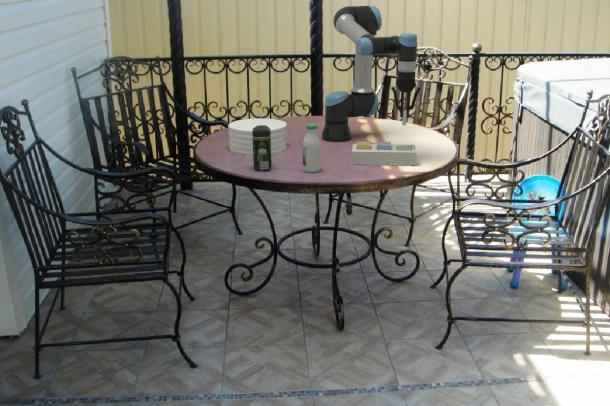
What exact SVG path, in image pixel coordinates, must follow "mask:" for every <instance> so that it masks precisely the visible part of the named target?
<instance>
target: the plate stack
mask: <svg viewBox="0 0 610 406" xmlns="http://www.w3.org/2000/svg"><path fill="white" fill-rule="evenodd" d="M287 124H288V123H287V122H286V121H283V120H280V119H273V118H260V117H259V118H246V119H245V118H243V119H239V120H234V121H232V122H230V123H228V127H227V128H228V141H229V143H228V144H229V146H228V147H229V150H230V151H231V152H233V153H236V154H242V155H248V156H249V155H250V156H251V155H252V156H253V141H252V130H253V128H254V127H256V126H258V125H266V126H267V127H269V128H270V133H271V155H273V154H278V153H281V152H284V151H285V150H286V149H287V148H288V144H287V143H288V129H287V128H288V125H287Z"/></svg>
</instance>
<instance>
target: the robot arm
mask: <svg viewBox="0 0 610 406" xmlns="http://www.w3.org/2000/svg"><path fill="white" fill-rule="evenodd" d="M382 21H383V20H382V15H381V12H380V10H379V8H378V7H376V6H375V5H356V6H354V5H353V6H352V5H351V6H344V7H343V6H342V8H340V9H338V11H336V13H335V15H334V17H333V27H334V28H335V30H336V31H337V32H338V33H339V34H341V35H344V36H346V37H347V39H349V40H350V41H351V42H353V43H354V45H355V51H354V54H355V57H354V86H353V88H352V89H351V90H350V93H349V92H348V91H346V90H343V91H334V92H330V93H328V94H327V95H326V96H325V100H324V101H325V103H324V115H325V116H324V119H325V121H324V122H325V123H324V125H323V129H322V132H321V140H322V141H326V142H331V143H332V142H334V143H341V142H342V143H343V142H347V141H351V140H352V131H351V128H350V126H349V125H350V124H349V118H360V117H361V118H363V117H364V118H365V117H371V116H373V115H375V113H376V112H377V110H378V108H379V107H378V106H379V97H378V94H377V93H376V92H375V89H374V88H373V85H372V83H373V81H372V80H373V58H374V56H382V55H386V56H387V55H389V56H390V55H398V59H397V60H398V63H397V70H398V71H397V79H396V83H395V85H393V86H392V85H391V87H390V90H391V91H392V93H393V96H394V101H395V107H396V109H397V110H399V112H400V113H399V117H400V118H401V119H402V120H401V121H402V122H401V124H402V126H407V118H409V117H410V110H414V108H415V105H416V102H417V98H418V94H419V93H420V91H421V90H422V88H421V86H419V85H417V82H416V70H417V69H416V68H417V55H418V54H417V51H418V50H417V49H418V35H417V34H415V33H401V34H399V35H391V36H377V32H379V30H381V29H382V26H383V23H382ZM397 90H398V91H400V103H399V99H398V98H399V97H398V94H397ZM413 90H414V94H413V98H412V101H411V92H412V91H413ZM405 93H406V108H405V109H404V106H405V105H404V104H405ZM350 139H351V140H350Z"/></svg>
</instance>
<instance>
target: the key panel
mask: <svg viewBox="0 0 610 406" xmlns="http://www.w3.org/2000/svg"><path fill="white" fill-rule="evenodd" d="M397 146H411V149H412V150H397ZM351 151H352V152H351V165H352V166H355V165H356V166H358V165H357V164H368V165H367V166H392V165H393V164H397V165H416V166H417V156H418V154H417V153H418V151H417V148H416V145H415V144H400V143H399V144H398V143H397V144H396V143H395V144H394V143H393V144H392V143H391V150H377V143H371V150H359V149H357V143H352V150H351ZM390 164H392V165H390Z"/></svg>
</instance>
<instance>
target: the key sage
mask: <svg viewBox="0 0 610 406" xmlns="http://www.w3.org/2000/svg"><path fill="white" fill-rule="evenodd" d="M397 150H412V149H411V146H397Z"/></svg>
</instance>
